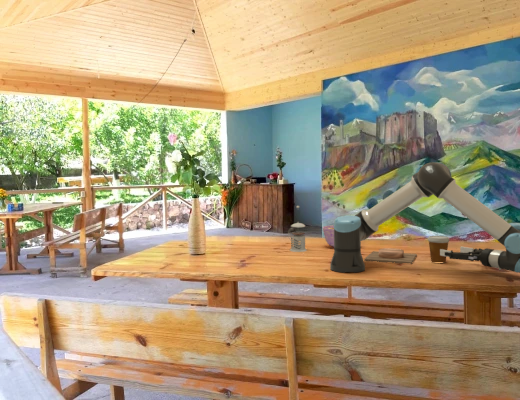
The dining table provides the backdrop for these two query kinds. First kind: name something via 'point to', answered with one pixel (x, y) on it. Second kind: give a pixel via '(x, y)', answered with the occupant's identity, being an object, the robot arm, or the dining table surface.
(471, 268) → the dining table surface
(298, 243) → the french press
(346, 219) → the robot arm
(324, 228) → the bowl of food
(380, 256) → the pedestal
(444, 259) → the disposable coffee cup
